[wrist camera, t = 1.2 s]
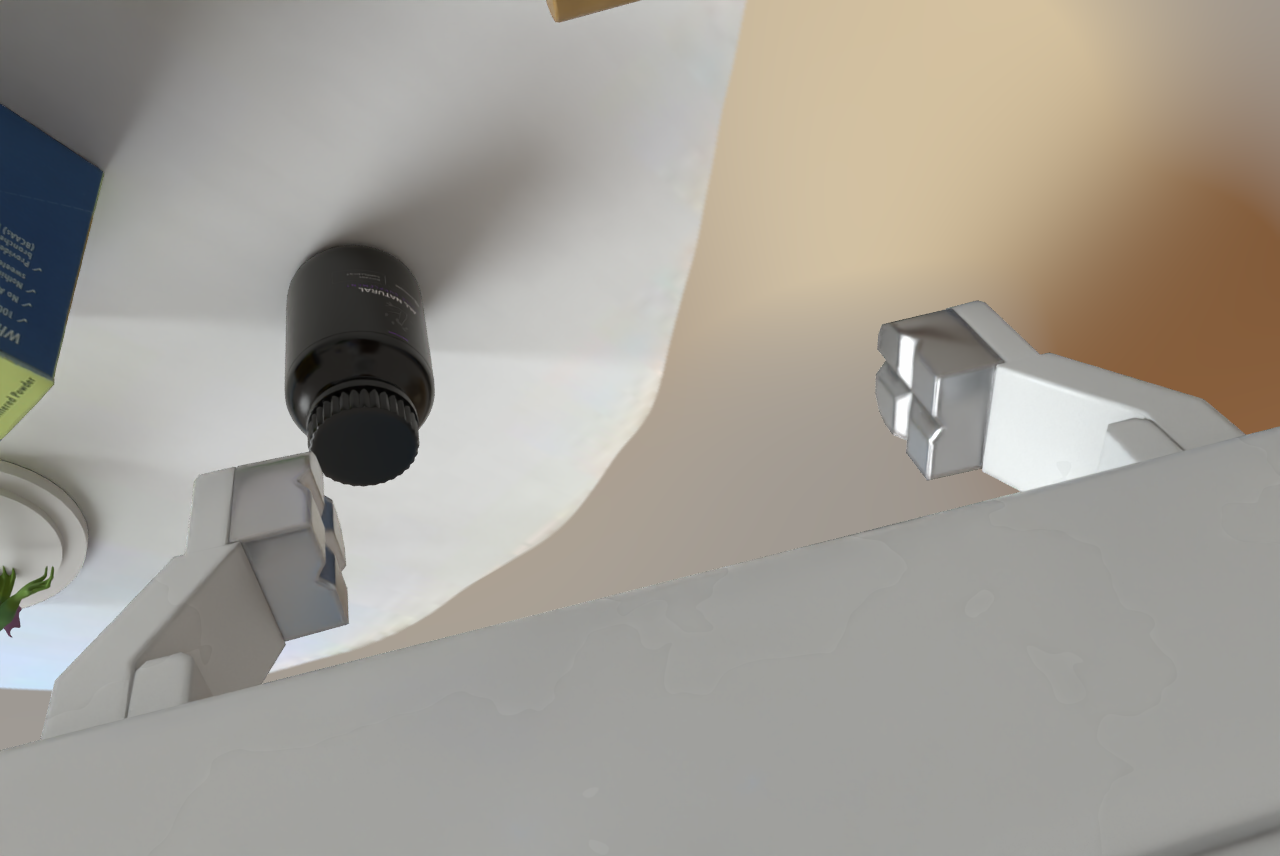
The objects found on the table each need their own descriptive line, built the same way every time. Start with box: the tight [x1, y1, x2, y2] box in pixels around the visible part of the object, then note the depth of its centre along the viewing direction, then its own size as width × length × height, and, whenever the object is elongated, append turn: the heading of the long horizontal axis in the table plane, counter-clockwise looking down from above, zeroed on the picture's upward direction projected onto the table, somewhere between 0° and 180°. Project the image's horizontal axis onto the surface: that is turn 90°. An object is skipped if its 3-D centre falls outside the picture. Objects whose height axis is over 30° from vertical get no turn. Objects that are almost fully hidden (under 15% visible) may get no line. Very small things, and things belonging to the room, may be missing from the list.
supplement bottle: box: [285, 245, 435, 486], centre depth 51 cm, size 7×7×12 cm
